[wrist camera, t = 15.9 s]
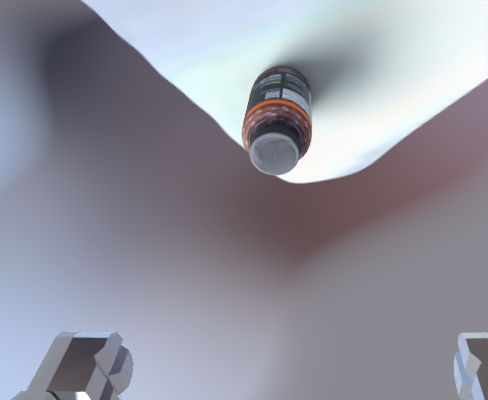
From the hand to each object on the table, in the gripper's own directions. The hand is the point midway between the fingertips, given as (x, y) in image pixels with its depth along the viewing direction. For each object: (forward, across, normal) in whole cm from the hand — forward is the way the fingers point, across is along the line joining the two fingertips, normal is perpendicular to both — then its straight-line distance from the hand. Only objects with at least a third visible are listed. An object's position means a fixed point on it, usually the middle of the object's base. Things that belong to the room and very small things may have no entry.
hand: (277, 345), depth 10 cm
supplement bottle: (+34, +3, +9) cm, 36 cm away
